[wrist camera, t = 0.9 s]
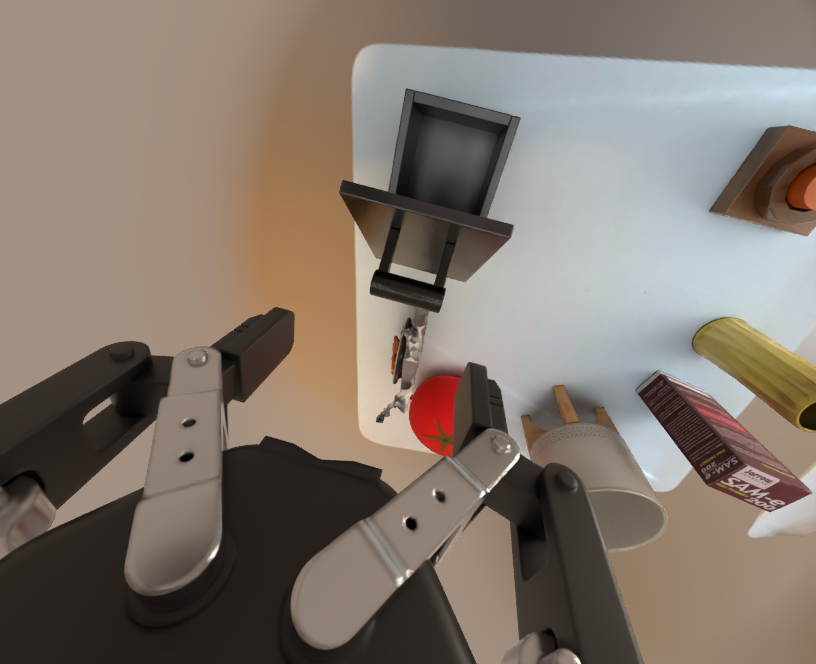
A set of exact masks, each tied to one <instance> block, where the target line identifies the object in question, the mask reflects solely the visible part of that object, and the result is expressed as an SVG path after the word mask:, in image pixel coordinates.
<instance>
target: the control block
mask: <svg viewBox="0 0 816 664" xmlns="http://www.w3.org/2000/svg"><path fill="white" fill-rule="evenodd" d="M814 164H816V132H814V131H810V130H806V129H802V128H798V127H794V126H790V125H789V126H780V127H772V128H768V130H767V131H766V132H765V134H764V135H763V137H762V138H761V139H760V141H759V142H758V144H757V145H756V147H755V148H754V149H753V151H752V152H751V154H750V155H749V156H748V158H747V159H746V161H745V162H744V163H743V165H742V166H741V168H740V169H739V170H738V172H737V173H736V175H735V176H734V177H733V179H732V180H731V182H730V183H729V185H728V186H727V187H726V189H725V190H724V192H723V193H722V194H721V196H720V197H719V199H718V200H717V201H716V203H715V204H714V206H713V207H712V208H711V210H710V212H712V213H716V214H720V215H723V216H727V217H731V218H735V219H739V220H743V221H747V222H750V223H754V224H758V225H762V226H766V227H770V228H774V229H777V230H781V231H785V232H789V233H794V234H799V235H803V236H808V235H809V234H810V233H811V232H812V231H813V230H814V229H815V227H816V210H810V209H802V208H796V207H793V206H791V205H790V204H789V203H788V201H787V190H788V188H789V186H790V184H791V183H792V181H793V180H794V179H795V178H796V177H797V176H798V175H799V174H800V173H801V172H802V171H804V170H805V169H807V168H808V167H810V166H812V165H814Z"/></svg>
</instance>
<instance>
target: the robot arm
mask: <svg viewBox="0 0 816 664" xmlns="http://www.w3.org/2000/svg"><path fill="white" fill-rule="evenodd" d="M293 343H294V313H293V312H292V311H289V310H285V309H282V308H278V307H275V308H273V309H272V310H270V311H269V312H268V313H267V314H265V315H262V314H261V315H257V316H254V317H252V318H249V319H248V320H246V321H245V322H244V323H242V324H241V326H238V327H237V328H235V329H234V331H231V332H230V333H228V334H227V335H226V336H224V337H223V338H221V339H220V340H219V341H217V342H216V343H214V344H213V345H212V346H210V347H194V348H189V349H186V350H183V351H182V352H180V353H178V354H177V355H176V356H175V357H170V356H152V355H151V353H150V350H149V347H148V346H147V345H146V344H144V343H141V342H135V341H126V342H119V343H114V344H111V345H108V346H105V347H103V348H101V349H99V350H98V351H96V352H94V353H92V354H90V355H89V356H87V357H85V358H84V359H82V360H80V361H78V362H76V363H74V364H73V365H71V366H69V367H67V368H65V369H63V370H62V371H60V372H58V373H56V374H54V375H53V376H51V377H49V378H47V379H45V380H44V381H42V382H40V383H38V384H37V385H35V386H33V387H31V388H29V389H27V390H26V391H24V392H22V393H20V394H19V395H17V396H15V397H13V398H12V399H9V400H8V401H6V402H4V403H2V404H1V405H0V664H476V661H475V659H474V657H473V654H472V652H471V650H470V648H469V646H468V643H467V641H466V639H465V637H464V634H463V632H462V630H461V628H460V625H459V623H458V621H457V619H456V616H455V614H454V612H453V610H452V608H451V605H450V603H449V601H448V599H447V596H446V594H445V592H444V590H443V587H442V585H441V583H440V581H439V578H438V576H437V574H436V572H435V568H436V566H437V565H438V564H439V563H440V562H441V561H442V559H443V558H444V557H445V556H446V554H447V553H448V552H449V551H450V549H451V548H452V547H453V545H454V544H455V543H456V541H457V540H458V539H459V538H460V536H461V535H462V534H463V533H464V532H465V531H466V529H467V528H468V527H469V526H470V525H471V524H472V522H473V521H474V520H475V519H476V518H477V517H478V515H479V514H480V513H481V512H482V511H483V510H484V508H485V507H486V506H488V507H489V508H491V509H493V510H494V511H496V512H497V513H499V514H500V515H502V516H503V517H505V518H506V519H508V520H510V528H511V541H512V553H513V566H514V579H515V592H516V605H517V618H518V631H519V642H517V643H516V644H515V645H513V646H512V647H510V648H509V649H508V650H507V651H506V653H505V655H504V657H503V659H502V663H501V664H644V662H643V659H642V656H641V653H640V650H639V647H638V643H637V640H636V638H635V634H634V631H633V629H632V625H631V622H630V619H629V616H628V613H627V610H626V607H625V604H624V601H623V598H622V595H621V591H620V589H619V586H618V582H617V579H616V576H615V573H614V570H613V567H612V565H611V561H610V558H609V555H608V552H607V549H606V546H605V543H604V539H603V536H602V533H601V530H600V527H599V524H598V521H597V518H596V515H595V512H594V509H593V506H592V503H591V500H590V497H589V494H588V491H587V488H586V486H585V484H584V482H583V481H582V479H581V478H580V477H579V476H578V475H577V474H576V473H575V472H574V471H572V470H571V469H570V468H568V467H566V466H564V465H562V464H559V463H549V464H547V465H546V466H545V467H544V468H542V467H541V466H539V465H537V464H535V463H534V462H532V461H530V460H528V459H527V458H525V457H524V456H522V455H521V454H520V450H519V447H518V445H517V443H516V442H515V441H514V439H513V438H512V437H510V436H509V435H508V429H507V424H506V418H505V412H504V408H503V407H504V406H503V401H502V394H501V390H500V388H499V386H498V385H497V383H496V382H495V381H494V380H490V379H487V370H486V366H483V365H479V364H475V363H472V362H468V364H467V366H466V368H465V371H464V373H463V375H462V378H461V380H460V383H459V385H458V387H457V390H456V394H455V399H454V424H453V454H452V457H451V456H450V455H446V456H445V457H443V458H442V459H441V460H440V461H438V462H437V463H436V464H435V465H433V466H432V467H431V468H430V469H428V470H427V471H426V472H425V473H423V474H422V475H421V476H420V477H419V478H418V479H416V480H415V481H414V482H412V483H411V484H410V485H409V486H407V487H406V488H405V489H404V490H403V491H401V492H400V493H399V494H397V493H396V491H394V489H392V488H391V487H390V486H389V485H388V484H386V483H385V482H384V481H382V480H381V479H380V477H381V473H382V470H381V469H378V468H375V467H372V466H368V465H365V464H361V463H358V462H354V461H337V460H321V459H319V458H317V457H315V456H313V455H312V454H310V453H308V452H307V451H305V450H303V449H302V448H300V447H299V446H297V445H295V444H293V443H289V442H286V441H282V440H279V439H276V438H272V437H268V436H265V437H264V439H263V440H262V441H261V443H260V444H259V445H257V444H256V445H244V446H239V447H234V448H231V449H230V444H229V421H228V406H227V404H228V403H229V402H230V401H231V400H232V399H233V400H237V401H240V402H245V401H246V400H247V399H248V398H249V396H250V395H251V394H252V393H253V392H254V391H255V390H256V389H257V388H258V387H259V385H260V384H261V383H262V382H263V381H264V380H265V379H266V378H267V377H268V376H269V375H270V373H271V372H272V371H273V370H274V369H275V368H276V367H277V366H278V365H279V363H281V361H282V360H283V359H284V358H285V357H286V356H287V355H288V354H289V353H290V351H291V349H292V346H293ZM109 397H110V399H111V402H112V404H110V405H109V406H108V407H106V408H105V409H104V410H102V411H101V412H100V413H98V414H97V415H96V416H94V417H93V418H92V419H90V420H89V421H87V422H86V423H85V424H84V425H83V420H84V418H85V416H86V415H87V414H88V413H89V411H91V410H92V409H93V408H95V407H96V406H97V405H99V404H100V403H102V402H103V401H104V400H105V399H107V398H109ZM156 419H157V420H156ZM155 420H156V425H155V431H154V437H153V442H152V448H151V453H150V459H149V464H148V470H147V476H146V481H145V487H143V488H141V489H139V490H137V491H135V492H132V493H130V494H128V495H126V496H124V497H121V498H119V499H117V500H115V501H112V502H110V503H108V504H106V505H104V506H102V507H100V508H97V509H95V510H93V511H91V512H89V513H86V514H84V515H82V516H80V517H77V518H75V519H73V520H71V521H69V522H67V523H64V524H62V525H60V526H58V527H56V528H53V529H51V530H49V531H47V530H48V528H49V527H50V526H51V524H52V523H53V521H54V519H55V516H56V510H57V509H58V508H60V506H62V505H63V504H64V503H65V502H66V501H67V500H68V499H69V498H71V497H72V496H73V495H74V494H75V493H76V492H77V491H78V490H79V489H80V488H82V486H84V485H85V484H86V483H87V482H88V481H89V480H90V479H91V478H92V477H94V476H95V475H96V474H97V473H98V472H99V471H100V470H101V469H102V468H103V467H105V466H106V465H107V464H108V463H109V462H110V461H111V460H112V459H113V458H114V457H115V456H117V455H118V454H119V453H120V452H121V451H122V450H123V449H124V448H125V447H126V446H127V445H129V444H130V443H131V442H132V441H133V440H134V439H135V438H136V437H137V436H138V435H140V434H141V433H142V432H143V431H144V430H145V429H146V428H147V427H148V426H149V425H151V424H152V423H153V422H154V421H155ZM46 531H47V532H46Z"/></svg>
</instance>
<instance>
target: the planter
mask: <svg viewBox="0 0 816 664" xmlns="http://www.w3.org/2000/svg"><path fill="white" fill-rule="evenodd" d="M553 391H554V394H555V397H556V400H557V404H558V407H559V411H560V414H561V419H562V423H563V425H561V426H558V427H555V428H552V429H550V430H548V431H543V430H541V429H539V428H538V427H537V426H535V425H534V424H533V423H532V421H531V420H530V418H529V416H528V415H526V416H521V420H522V424H523V429H524V433H525V437H526V442H527V446H528V450H529V455H530V459H531V461H532V462H534V463H535V464H537V465H539V466H541V467H542V468H544V467H545V466H546V465H547V464H549V463H559V464H562V465H564V466H566V467H568V468H570V469H571V470H572V471H574V472H575V473H576V474H577V475H578V476H579V477H580V478H581V479H582V481H583V482H584V484H585V486H586V488H587V491H588V494H589V497H590V500H591V503H592V506H593V509H594V512H595V515H596V518H597V521H598V524H599V527H600V530H601V533H602V536H603V539H604V543H605V546H606V549H607V552H618V551H626V550H632V549H635V548H639V547H642V546H644V545H647V544H649V543H651V542H653V541H654V540H656V539H658V538H659V537H660V536H661V535H662V534H663V533H664V532H665V530H666V528H667V526H668V515H667V513H666V511H665V509H664V507H663V506H662V504H661V502H660V501H659V499H658V497H657V496H656V494H655V492H654V490H653V489H652V487H651V485H650V484H649V482H648V480H647V478H646V477H645V475H644V473H643V472H642V470H641V468H640V467H639V465H638V463H637V461H636V460H635V458H634V456H633V455H632V453H631V451H630V449H629V448H628V446H627V444H626V443H625V441H624V439H623V438H622V437H621V436H620V434H619V433H618V431H617V429H616V427H615V426H614V424H613V422H612V421H611V419H610V417H609V415H608V414H607V412H606V410H605V409H604V407H601V408H595V415H596V417H597V419H596V422H595V424H593V423H580V421H579V419H578V417H577V414H576V412H575V410H574V408H573V406H572V404H571V401H570V399H569V397H568V395H567V393H566V390H565V388H564V386H563V385H559V386H553Z"/></svg>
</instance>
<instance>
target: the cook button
mask: <svg viewBox="0 0 816 664" xmlns="http://www.w3.org/2000/svg"><path fill="white" fill-rule="evenodd" d="M787 201H788V203H789V204H790V205H791V206H793V207H796V208H802V209H810V210H816V164H814V165H812V166H810V167H808V168H807V169H805V170H804V171H802V172H801V173H800V174H799V175H798V176H797V177H796V178H795V179H794V180H793V181H792V183H791V184H790V186H789V188H788V190H787Z"/></svg>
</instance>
